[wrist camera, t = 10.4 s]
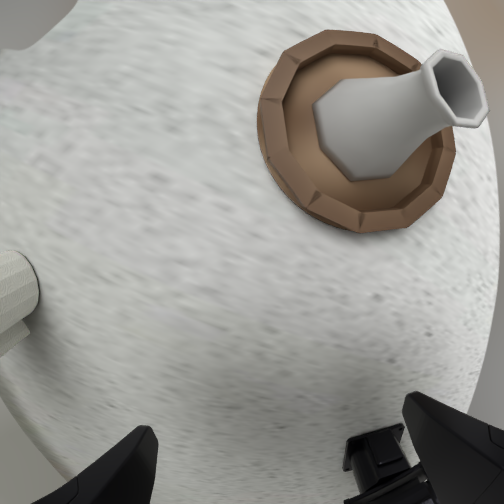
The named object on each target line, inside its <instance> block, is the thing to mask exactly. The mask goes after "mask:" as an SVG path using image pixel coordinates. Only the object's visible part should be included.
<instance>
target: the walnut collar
mask: <svg viewBox="0 0 504 504" xmlns="http://www.w3.org/2000/svg"><path fill="white" fill-rule="evenodd" d="M421 65H422V64H421V63H420V62H419V61H418V60H417V59H415V58H414V57H412V56H411V55H409V54H408V53H406V52H405V51H403V50H402V49H400V48H398V47H397V46H395V45H394V44H392V43H390V42H389V41H387V40H385V39H384V38H382V37H380V36H378V35H376V34H371V33H363V32H353V31H342V30H324V31H322V32H320V33H318V34H316V35H314V36H312V37H310V38H308V39H306V40H304V41H302V42H300V43H298V44H296V45H294V46H293V47H291V48H289V49H287V50H285V51H284V52H283V53H282V55H281V57H280V59H279V61H278V63H277V65H276V66H275V67H274V68H273V69H272V71H271V73H270V74H269V76H268V78H267V79H266V81H265V84H264V86H263V89H262V91H261V95H260V99H259V104H258V112H257V132H258V139H259V144H260V149H261V152H262V154H263V157H264V160H265V163H266V165H267V167H268V169H269V171H270V173H271V175H272V176H273V178H274V179H275V181H276V182H277V184H278V185H279V187H280V188H281V189H282V190H283V191H284V193H285V194H286V195H287V196H288V197H289V198H290V199H291V200H292V201H293V202H294V203H295V204H296V205H297V206H298V207H300V208H301V209H303V210H304V211H305V212H307V213H308V214H309V215H311V216H313V217H315V218H317V219H319V220H320V221H322V222H324V223H327V224H330V225H332V226H335V227H337V228H341V229H345V230H350V231H355V232H357V233H366V232H374V231H382V230H391V229H399V228H407V227H409V226H410V225H411V224H413V223H414V222H415V221H416V220H417V219H418V218H420V217H421V216H422V215H423V214H424V213H425V212H426V211H427V210H429V209H430V208H431V207H432V206H433V205H434V204H435V203H436V202H438V201H439V200H440V199H441V198H442V197H443V194H444V191H445V188H446V185H447V181H448V178H449V175H450V172H451V169H452V165H453V162H454V158H455V155H456V153H455V152H456V148H455V141H454V134H453V128H452V126H449V127H445V128H444V129H442V130H440V131H439V132H437V133H435V134H433V135H432V136H430V137H428V138H427V139H426V140H425V141H424V142H423V143H422V144H421V145H420V146H419V147H418V148H417V149H416V150H415V151H414V152H413V153H412V154H411V155H410V156H409V157H408V159H407V160H406V161H405V162H404V163H403V164H402V165H401V166H400V167H399V168H398V169H397V171H396V172H395V173H394V174H393V175H392V176H391V177H390V178H383V179H371V180H359V181H350V180H349V179H348V178H347V177H346V176H345V175H344V173H343V172H342V171H341V170H340V169H339V168H338V167H337V166H336V165H335V164H334V162H333V161H332V160H331V159H330V158H329V157H328V156H327V155H326V154H325V153H324V152H323V151H322V150H321V149H320V147H319V141H318V135H317V130H316V124H315V118H314V113H313V108H312V104H313V103H314V102H315V101H316V100H317V99H319V98H320V97H321V96H322V95H323V94H324V93H325V92H327V91H328V90H329V89H330V88H331V87H332V86H334V85H335V84H336V83H337V82H338V81H339V80H342V79H358V78H379V77H396V76H400V75H404V74H407V73H411V72H415V71H418V70H420V67H421ZM441 196H442V197H441Z"/></svg>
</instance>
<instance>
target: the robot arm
mask: <svg viewBox="0 0 504 504" xmlns="http://www.w3.org/2000/svg"><path fill="white" fill-rule="evenodd" d="M402 414H403V417H404V420H405V423H406V426H407V429H408V431H409V434H410V437H411V440H412V443H413V446H414V448H415V450H416V453H417V455H418V457H419V459H420V462H419V463H418V464H417V465H415V466H413V467H411V465H410V463H409V461H408V459H407V457H406V455H405V454H404V452H403V450H402V448H401V446H400V444H399V443H400V440H401V437H402V434H403V431H404V428H405V426H404V425H403V424H398V425H395V426H392V427H389V428H386V429H383V430H379V431H376V432H372V433H369V434H365V435H361V436H358V437H354V438H350V439H349V440H348V441H347V445H346V451H345V457H344V463H343V471H344V472H347V471H351V470H353V473H354V476H355V479H356V482H357V485H358V488H359V492H360V495H357V496H355V497H353V498H350V499H349V498H348V499H346V500H344V504H504V430H501V429H499V428H496V427H494V426H492V425H488V424H487V423H484V422H482V421H480V420H477V419H475V418H473V417H471V416H469V415H467V414H465V413H462V412H460V411H458V410H456V409H454V408H452V407H450V406H447V405H445V404H443V403H441V402H439V401H437V400H435V399H433V398H431V397H429V396H427V395H425V394H423V393H421V392H418V391H414V392H411V393H408V394H407V395H406V397H405V401H404V405H403V409H402ZM157 454H158V440H157V438H156V436H155V434H154V432H153V430H152V428H151V427H150V426H146V425H139V426H137V427H136V428H135V429H134V430H133V431H132V432H130V433H129V434H128V435H127V436H126V437H124V438H123V439H122V440H121V441H120V442H118V443H117V444H116V445H115V446H113V447H112V448H111V449H110V450H109V451H107V452H106V453H105V454H104V455H102V456H101V457H100V458H99V459H97V460H96V461H95V462H94V463H92V464H91V465H90V466H88V467H87V468H86V469H85V470H83V471H82V472H81V473H79V474H78V475H77V476H75V477H74V478H73V479H71V480H70V481H69V482H67V483H66V484H64V485H63V486H62V487H60V488H58V489H57V490H55V491H54V492H52V493H50V494H48V495H47V496H45V497H43V498H41V499H39V500H37V501H35V502H33V503H32V504H150V499H151V495H152V490H153V486H154V481H155V474H156V464H157ZM426 479H427V481H426V482H425V480H426Z"/></svg>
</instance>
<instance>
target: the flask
mask: <svg viewBox="0 0 504 504" xmlns="http://www.w3.org/2000/svg"><path fill="white" fill-rule="evenodd" d="M312 108H313V113H314V118H315V124H316V130H317V135H318V141H319V147H320V149H321V150H322V151H323V152H324V153H325V154H326V155H327V156H328V157H329V158H330V159H331V160H332V161H333V162H334V164H335V165H336V166H337V167H338V168H339V169H340V170H341V171H342V172H343V173H344V175H345V176H346V177H347V178H348V179H349V180H350V181H359V180H371V179H383V178H390V177H391V176H392V175H393V174H394V173H395V172H396V171H397V169H398V168H399V167H400V166H401V165H402V164H403V163H404V162H405V161H406V160H407V159H408V157H409V156H410V155H411V154H412V153H413V152H414V151H415V150H416V149H417V148H418V147H419V146H420V145H421V144H422V143H423V142H424V141H425V140H426V139H427V138H428V137H430V136H432V135H433V134H435V133H437V132H439V131H440V130H442V129H444V128H445V127H449V126H457V127H466V128H478V127H479V126H480V125H481V123H482V122H483V120H484V119H485V117H486V116H487V114H488V113H489V106H488V102H487V98H486V94H485V90H484V87H483V83H482V80H481V79H480V78H479V76H478V75H477V73H476V72H475V71H474V69H473V68H472V66H471V65H470V64H469V62H468V61H467V60H466V58H465V57H464V56H463V55H461V54H457V53H454V52H450V51H447V50H443V49H439V50H437V51H436V52H435V53H434V54H433V55H432V56H431V57H429V58H428V59H427V60H426V61H425V62H424V63H423V64H422V65H421V67H420V70H418V71H415V72H411V73H407V74H404V75H400V76H396V77H379V78H358V79H342V80H339V81H338V82H337V83H336V84H335V85H334V86H332V87H331V88H330V89H329V90H328V91H327V92H325V93H324V94H323V95H322V96H321V97H320V98H319V99H317V100H316V101H315V102H314V103H313V104H312Z"/></svg>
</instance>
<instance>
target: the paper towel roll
mask: <svg viewBox="0 0 504 504" xmlns="http://www.w3.org/2000/svg"><path fill="white" fill-rule="evenodd" d="M38 296H39V289H38V283H37V278H36V276H35V273H34V271H33V269H32V266H31V265H30V264H29V262H28V261H27V259H26V258H25V257H24V256H23V255H21V254H20V253H19V252H17V251H5V252H2V253H0V358H1V357H2V356H3V355H4V354H5V353H7V352H8V351H9V350H10V349H11V348H13V347H14V346H15V345H16V344H18V343H19V342H20V341H21V340H23V339H24V338H25V337H26V336H28V335H29V334H30V331H29V329H28V327H27V326H26V324H25V323H24V322H23V320H22V319H23V318H24V317H25V316H27V315H28V314H30V313H31V312H33V310H34V309H35V307H36V305H37V303H38Z"/></svg>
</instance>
